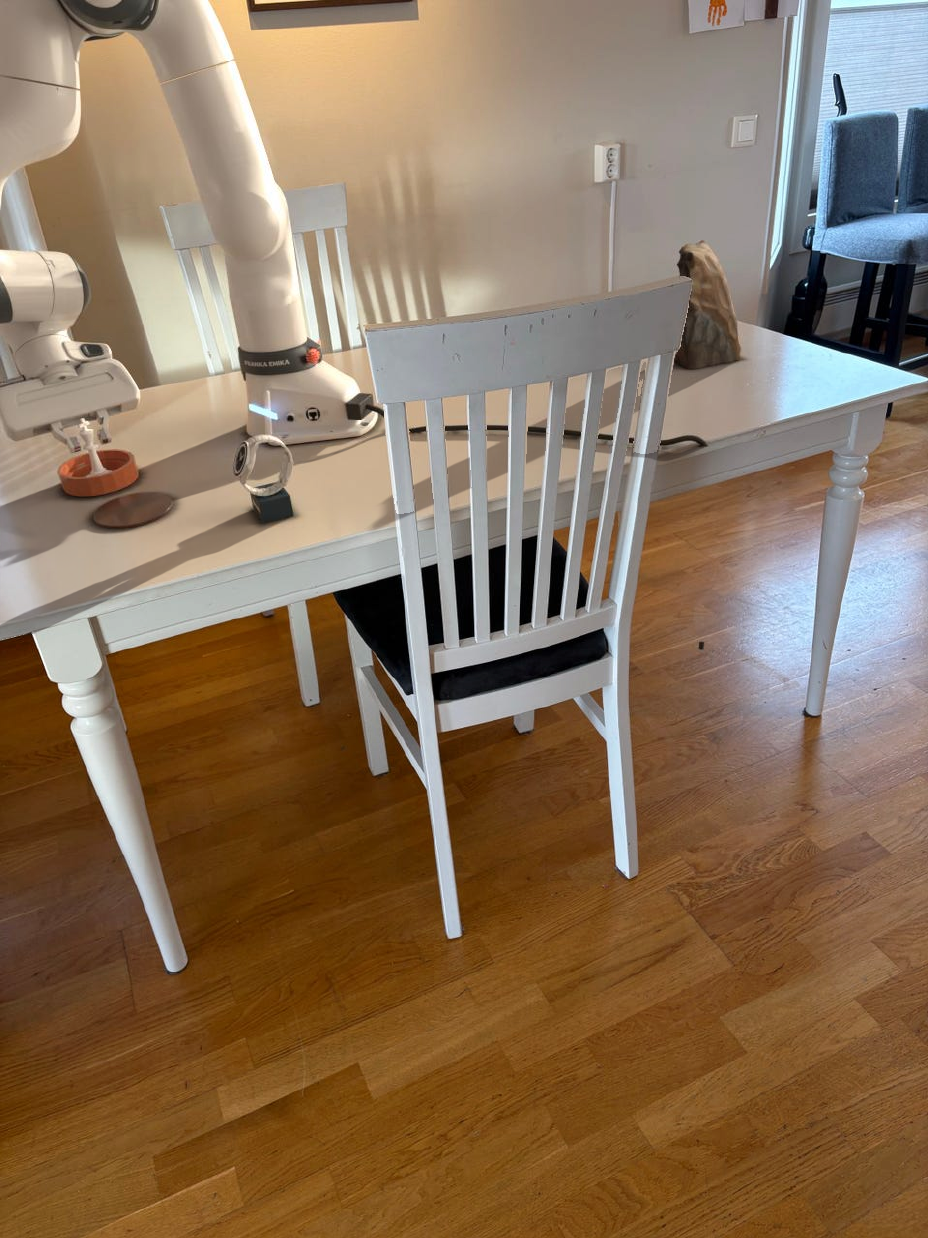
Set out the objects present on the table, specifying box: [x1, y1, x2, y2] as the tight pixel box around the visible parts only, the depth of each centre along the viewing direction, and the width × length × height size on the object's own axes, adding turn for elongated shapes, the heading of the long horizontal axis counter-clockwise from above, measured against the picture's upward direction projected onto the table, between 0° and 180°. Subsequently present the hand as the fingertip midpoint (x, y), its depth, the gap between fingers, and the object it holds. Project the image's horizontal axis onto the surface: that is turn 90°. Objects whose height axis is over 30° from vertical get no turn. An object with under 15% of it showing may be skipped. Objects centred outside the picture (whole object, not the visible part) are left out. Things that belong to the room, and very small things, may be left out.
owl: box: [674, 239, 743, 370], centre depth 166 cm, size 13×13×20 cm
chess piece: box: [77, 418, 112, 477], centre depth 136 cm, size 5×5×10 cm
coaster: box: [92, 491, 174, 530], centre depth 130 cm, size 11×11×1 cm
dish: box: [56, 448, 140, 497], centre depth 138 cm, size 11×11×3 cm
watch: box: [232, 435, 295, 524], centre depth 123 cm, size 6×8×11 cm
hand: (91, 446), depth 136 cm, fingers open, 3 cm apart
